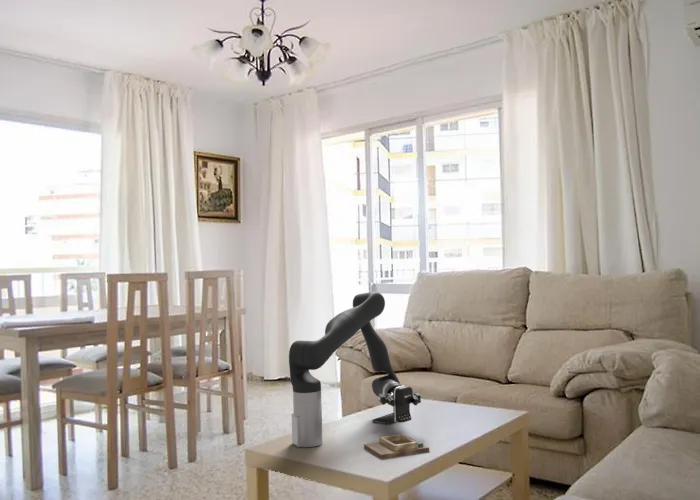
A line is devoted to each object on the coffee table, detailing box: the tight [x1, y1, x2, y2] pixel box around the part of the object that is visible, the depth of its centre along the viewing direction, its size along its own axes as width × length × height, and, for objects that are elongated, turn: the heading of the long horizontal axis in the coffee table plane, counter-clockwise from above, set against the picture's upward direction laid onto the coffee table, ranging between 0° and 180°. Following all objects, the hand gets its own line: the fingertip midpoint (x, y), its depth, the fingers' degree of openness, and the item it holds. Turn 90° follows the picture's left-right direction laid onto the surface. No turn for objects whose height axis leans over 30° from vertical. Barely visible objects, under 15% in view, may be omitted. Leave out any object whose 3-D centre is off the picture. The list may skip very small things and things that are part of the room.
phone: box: [371, 412, 397, 426], centre depth 232 cm, size 8×1×15 cm
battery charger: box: [392, 385, 414, 423], centre depth 207 cm, size 7×4×11 cm, turn 135°
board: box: [363, 433, 430, 460], centre depth 193 cm, size 16×13×3 cm
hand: (404, 402), depth 205 cm, fingers closed on battery charger, 7 cm apart
